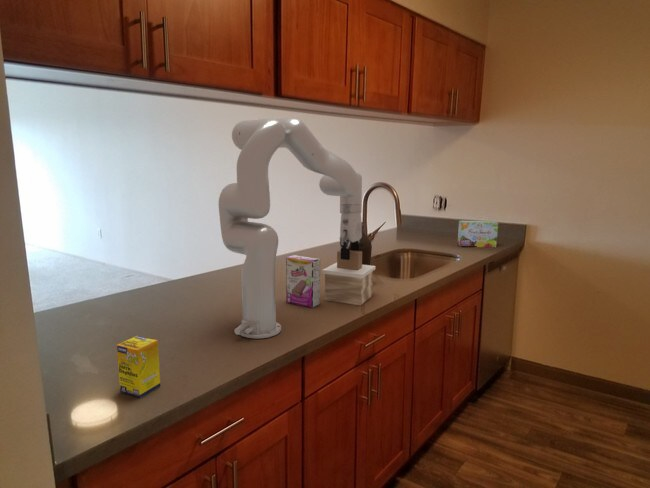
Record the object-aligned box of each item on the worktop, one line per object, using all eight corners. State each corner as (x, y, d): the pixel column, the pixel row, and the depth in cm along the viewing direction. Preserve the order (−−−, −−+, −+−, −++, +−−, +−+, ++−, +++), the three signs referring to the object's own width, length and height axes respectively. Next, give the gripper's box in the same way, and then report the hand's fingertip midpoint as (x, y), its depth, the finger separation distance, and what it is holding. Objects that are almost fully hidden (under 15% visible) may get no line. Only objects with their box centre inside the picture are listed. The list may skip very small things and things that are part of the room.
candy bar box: (285, 303, 159) (285, 257, 155) (293, 299, 163) (293, 254, 160) (312, 308, 153) (313, 260, 150) (320, 304, 157) (320, 258, 154)
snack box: (459, 247, 262) (461, 221, 259) (457, 245, 267) (458, 220, 264) (496, 247, 262) (498, 221, 259) (493, 245, 267) (495, 220, 265)
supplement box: (119, 392, 97) (115, 344, 95) (140, 380, 103) (137, 334, 101) (140, 398, 95) (136, 349, 93) (161, 386, 100) (158, 339, 98)
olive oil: (376, 284, 184) (378, 222, 179) (357, 288, 177) (358, 224, 172) (357, 278, 191) (359, 219, 187) (339, 282, 185) (339, 221, 180)
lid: (362, 278, 154) (363, 257, 152) (322, 273, 160) (322, 253, 158) (375, 269, 166) (376, 249, 165) (337, 265, 172) (337, 246, 171)
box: (360, 305, 156) (361, 277, 155) (324, 300, 162) (325, 273, 160) (371, 295, 168) (372, 269, 166) (338, 291, 173) (338, 265, 171)
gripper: (351, 212, 150) (351, 262, 153) (368, 206, 165) (368, 252, 168) (330, 211, 153) (330, 260, 156) (349, 205, 168) (349, 251, 171)
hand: (350, 256), depth 162 cm, fingers open, 9 cm apart
